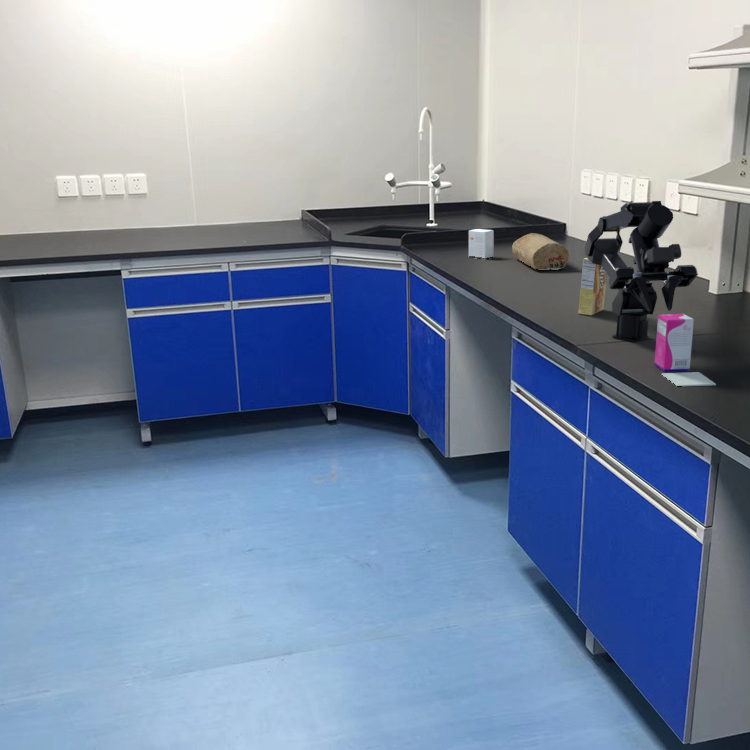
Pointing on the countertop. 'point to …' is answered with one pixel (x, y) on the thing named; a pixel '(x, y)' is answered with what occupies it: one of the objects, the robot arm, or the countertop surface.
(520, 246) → the core sample
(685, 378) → the mat
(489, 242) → the small box
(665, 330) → the supplement box
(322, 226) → the countertop surface
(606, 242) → the robot arm
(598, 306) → the candy box
